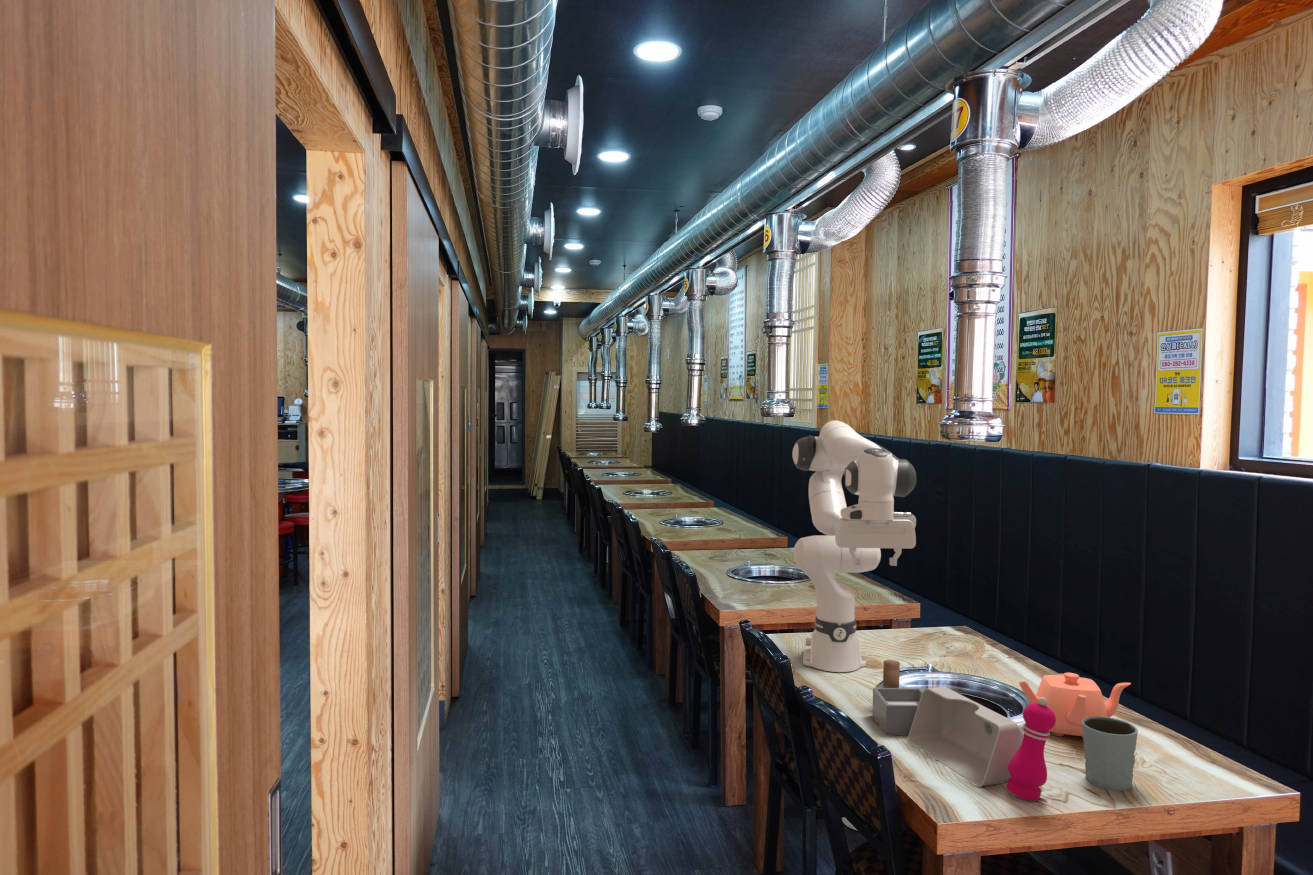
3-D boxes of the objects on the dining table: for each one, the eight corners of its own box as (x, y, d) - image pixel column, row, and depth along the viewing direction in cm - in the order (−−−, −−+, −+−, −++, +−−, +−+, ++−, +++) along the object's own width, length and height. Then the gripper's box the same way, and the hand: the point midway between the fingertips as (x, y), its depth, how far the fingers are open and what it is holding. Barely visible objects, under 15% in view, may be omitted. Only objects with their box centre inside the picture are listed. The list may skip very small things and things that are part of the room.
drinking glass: (1147, 790, 168) (1149, 732, 168) (1104, 794, 166) (1106, 736, 166) (1110, 768, 178) (1112, 713, 178) (1069, 772, 176) (1071, 717, 176)
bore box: (872, 715, 207) (873, 687, 207) (920, 715, 207) (920, 688, 207) (885, 734, 195) (886, 705, 195) (936, 734, 195) (937, 705, 195)
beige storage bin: (1043, 778, 174) (1045, 720, 173) (981, 789, 168) (983, 729, 168) (963, 732, 197) (964, 681, 197) (906, 741, 192) (907, 688, 191)
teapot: (1130, 736, 196) (1132, 679, 195) (1082, 752, 186) (1085, 692, 186) (1059, 711, 211) (1061, 658, 211) (1012, 724, 202) (1014, 669, 201)
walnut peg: (880, 704, 214) (881, 659, 214) (896, 705, 214) (897, 659, 214) (884, 710, 210) (886, 664, 210) (900, 710, 210) (901, 664, 210)
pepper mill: (1046, 806, 161) (1068, 707, 160) (1008, 795, 163) (1029, 698, 162) (1037, 789, 168) (1057, 695, 167) (1000, 780, 170) (1020, 686, 169)
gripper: (912, 510, 215) (911, 563, 216) (834, 509, 215) (833, 562, 216) (920, 513, 209) (918, 567, 209) (839, 513, 209) (838, 567, 209)
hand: (874, 565), depth 212 cm, fingers open, 8 cm apart
